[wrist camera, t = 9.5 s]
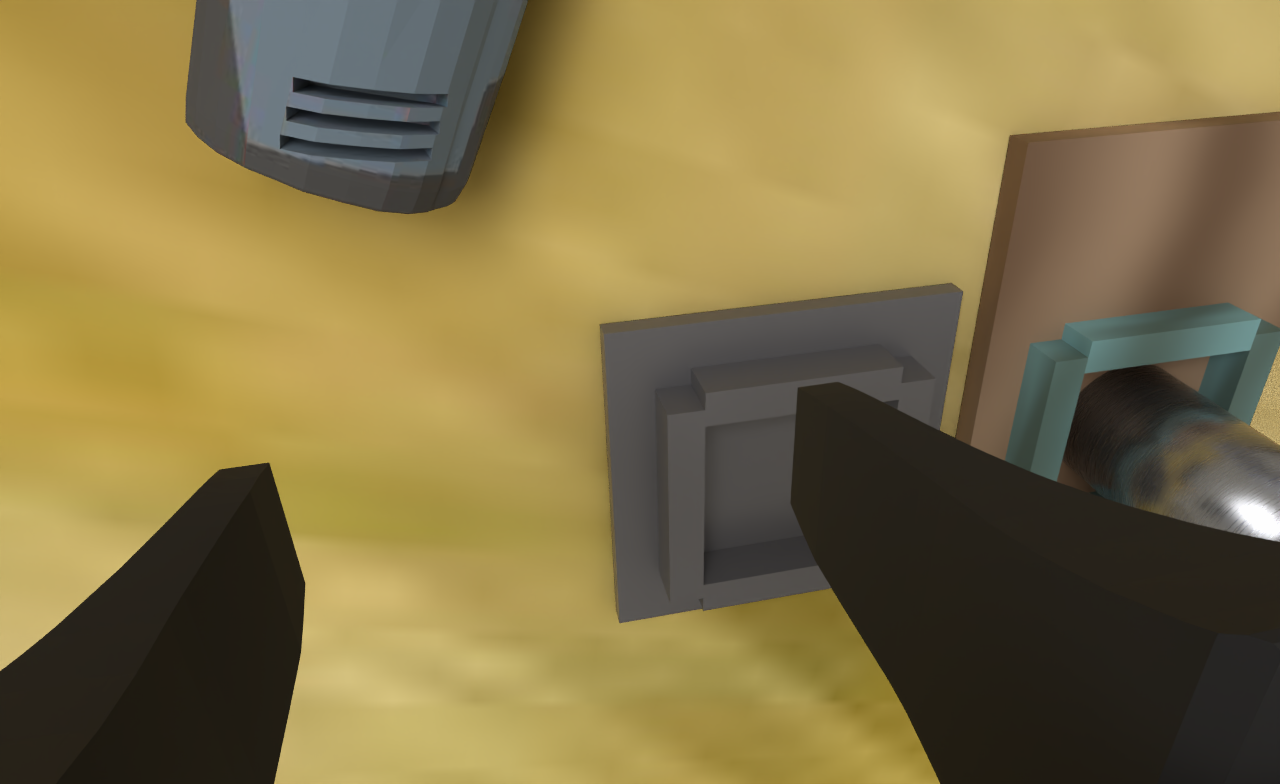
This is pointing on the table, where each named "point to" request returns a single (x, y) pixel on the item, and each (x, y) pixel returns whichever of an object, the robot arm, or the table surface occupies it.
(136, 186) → the table surface
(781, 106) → the table surface
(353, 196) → the power drill
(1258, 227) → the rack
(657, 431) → the socket block
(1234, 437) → the peg
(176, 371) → the table surface
